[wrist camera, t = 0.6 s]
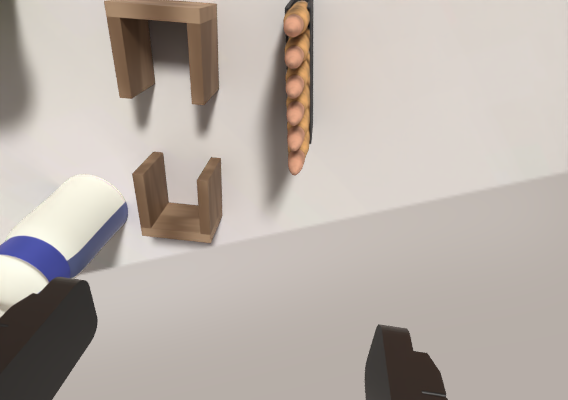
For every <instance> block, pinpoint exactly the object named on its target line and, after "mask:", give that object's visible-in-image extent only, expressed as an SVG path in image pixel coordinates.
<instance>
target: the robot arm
mask: <svg viewBox="0 0 568 400" xmlns="http://www.w3.org/2000/svg"><path fill="white" fill-rule="evenodd" d="M96 328H97V315H96V311H95V307H94V303H93V299H92V295H91V291H90V287H89V284H88V282H87V281H84V280H78V279H71V278H64V277H56V278H54V279H52V280H51V281H50V282H49V283H48V284H47V285H46V286H45V287H44V288H43V290H42V291H41V292H40V293H39V294H36V293H32V294H30V295H29V296H27V297H26V298H24V299H22V300H21V301H19V302H17V303H16V304H14V305H13V306H11V307H10V308H9V309H8V310H7V311H6V312H5V313H4V314H3V315H2V316H1V317H0V400H52V399H53V397H54V396H55V394H56V393H57V391H58V390H59V389H60V387H61V386H62V384H63V383H64V381H65V379H66V378H67V376H68V375H69V374H70V372H71V371H72V369H73V368H74V366H75V365H76V363H77V362H78V360H79V359H80V357H81V356H82V354H83V353H84V351H85V350H86V348H87V347H88V345H89V344H90V342H91V341H92V339H93V337H94V334H95V332H96ZM365 393H366V400H448V399H447V398H446V392H445V388H444V384H443V380H442V377H441V373H440V371H439V370H438V368H437V367H436V365H435V364H434V362H433V361H432V359H431V358H430V356H429V355H428V354H427V353H423V352H416V351H413V347H412V342H411V338H410V333H409V331H408V330H407V329H406V328H399V327H393V326H385V325H378V326H377V328H376V331H375V335H374V338H373V341H372V344H371V348H370V351H369V354H368V358H367V362H366V367H365Z"/></svg>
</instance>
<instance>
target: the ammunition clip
mask: <svg viewBox="0 0 568 400" xmlns="http://www.w3.org/2000/svg"><path fill="white" fill-rule="evenodd" d="M284 31H285V33H286V46H285V63H286V65H287V73H286V76H285V78H286V93H287V95H288V97H287V100H286V106H287V120H288V122H287V130H288V136H287V141H288V152H289V154H288V167H289V170H290V172H291V174H292V175H297V174H298V173H299V172H300V171H301V169H302V167H303V164H304V161H305V157H306V154H307V152H308V150H309V144H311V140H312V128H313V0H290V2H289V3H288V4H287V6H286V7H285V17H284ZM288 36H289V37H290V38H289V39H288Z"/></svg>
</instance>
